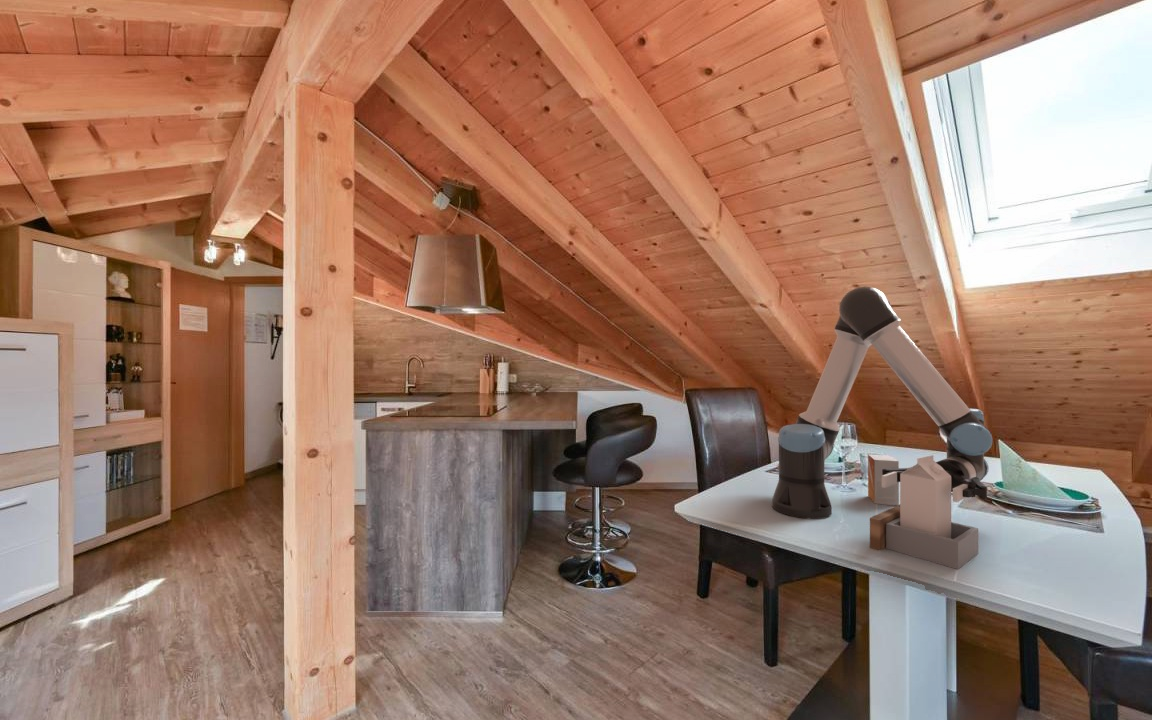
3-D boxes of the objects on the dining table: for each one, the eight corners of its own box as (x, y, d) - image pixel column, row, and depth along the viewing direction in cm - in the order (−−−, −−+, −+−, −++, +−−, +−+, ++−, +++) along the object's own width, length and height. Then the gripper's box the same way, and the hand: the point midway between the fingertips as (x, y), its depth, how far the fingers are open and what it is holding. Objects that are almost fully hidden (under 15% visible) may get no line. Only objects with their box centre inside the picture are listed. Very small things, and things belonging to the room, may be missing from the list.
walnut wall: (879, 551, 105) (879, 520, 105) (869, 548, 107) (869, 517, 107) (911, 533, 115) (911, 505, 115) (902, 531, 117) (902, 503, 117)
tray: (958, 569, 96) (958, 542, 96) (886, 548, 106) (886, 523, 106) (978, 553, 103) (978, 528, 103) (909, 535, 114) (909, 512, 114)
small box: (867, 496, 147) (867, 454, 147) (891, 498, 145) (891, 455, 145) (874, 503, 139) (874, 459, 139) (899, 506, 137) (899, 461, 137)
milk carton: (899, 540, 107) (899, 455, 107) (915, 533, 111) (915, 452, 111) (936, 551, 101) (936, 461, 101) (951, 544, 105) (951, 458, 104)
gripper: (1018, 501, 108) (989, 520, 95) (894, 478, 128) (857, 492, 116) (1018, 468, 108) (989, 483, 95) (894, 451, 128) (857, 461, 116)
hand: (917, 488), depth 105 cm, fingers open, 13 cm apart
